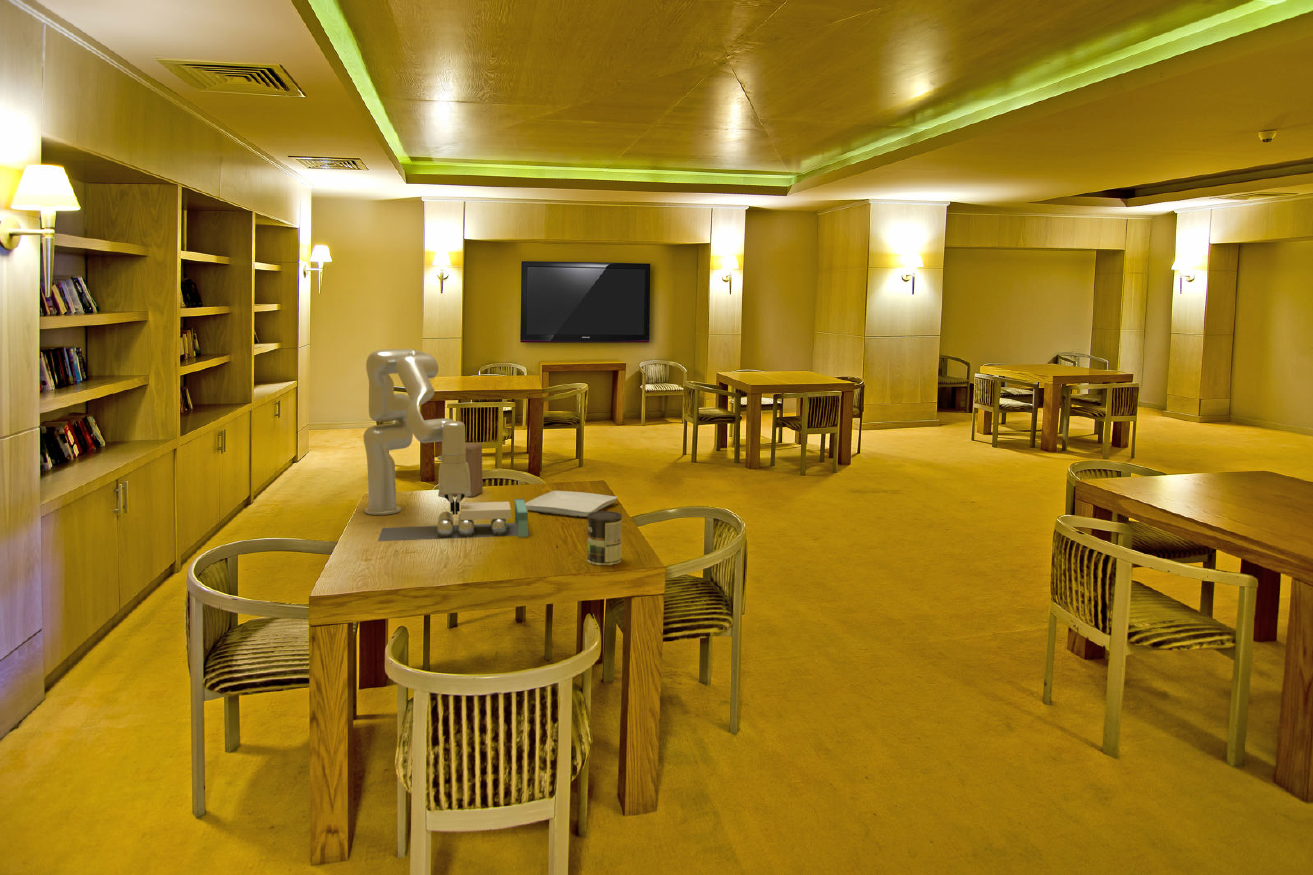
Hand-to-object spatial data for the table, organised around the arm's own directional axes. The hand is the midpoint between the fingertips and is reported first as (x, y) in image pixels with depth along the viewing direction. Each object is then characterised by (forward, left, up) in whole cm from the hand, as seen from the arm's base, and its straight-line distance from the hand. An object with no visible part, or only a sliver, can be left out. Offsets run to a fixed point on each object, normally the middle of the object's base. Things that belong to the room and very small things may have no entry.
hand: (455, 513), depth 306 cm
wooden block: (-60, +4, -7) cm, 61 cm away
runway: (0, 0, -7) cm, 7 cm away
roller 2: (0, +4, -6) cm, 7 cm away
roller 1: (0, -6, -5) cm, 7 cm away
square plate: (-30, +42, -7) cm, 52 cm away
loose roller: (0, +14, -6) cm, 15 cm away
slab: (0, +10, -1) cm, 10 cm away
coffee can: (+40, +44, -7) cm, 60 cm away
